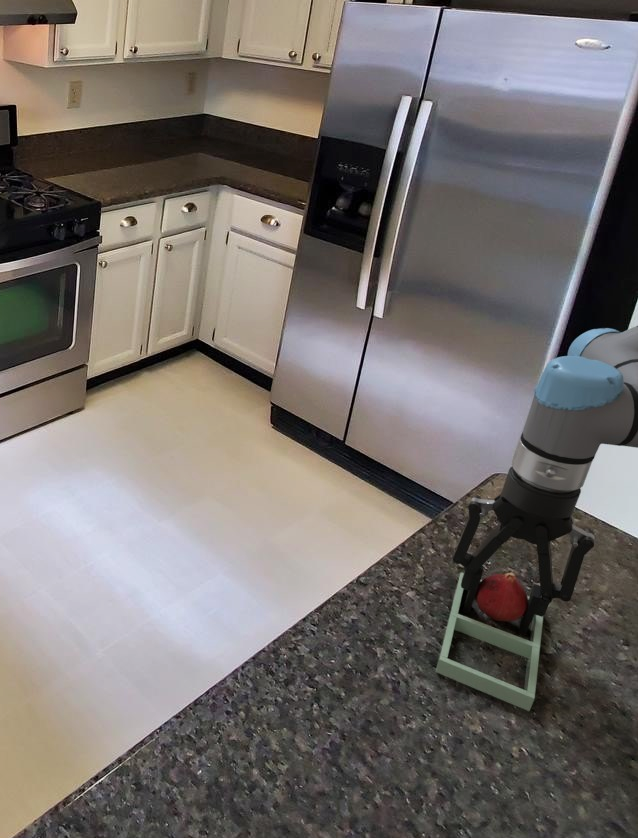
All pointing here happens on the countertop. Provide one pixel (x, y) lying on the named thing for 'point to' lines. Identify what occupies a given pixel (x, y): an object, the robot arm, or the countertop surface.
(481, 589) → the onion
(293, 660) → the countertop surface
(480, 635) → the holder
